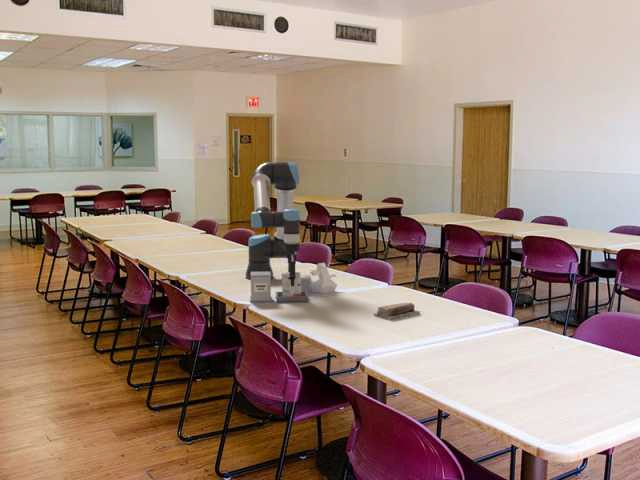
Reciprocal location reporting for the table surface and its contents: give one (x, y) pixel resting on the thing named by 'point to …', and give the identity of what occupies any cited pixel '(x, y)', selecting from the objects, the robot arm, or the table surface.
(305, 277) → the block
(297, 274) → the ink box
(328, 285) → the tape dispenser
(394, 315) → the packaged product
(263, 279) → the unit
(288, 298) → the tray
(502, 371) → the table surface
